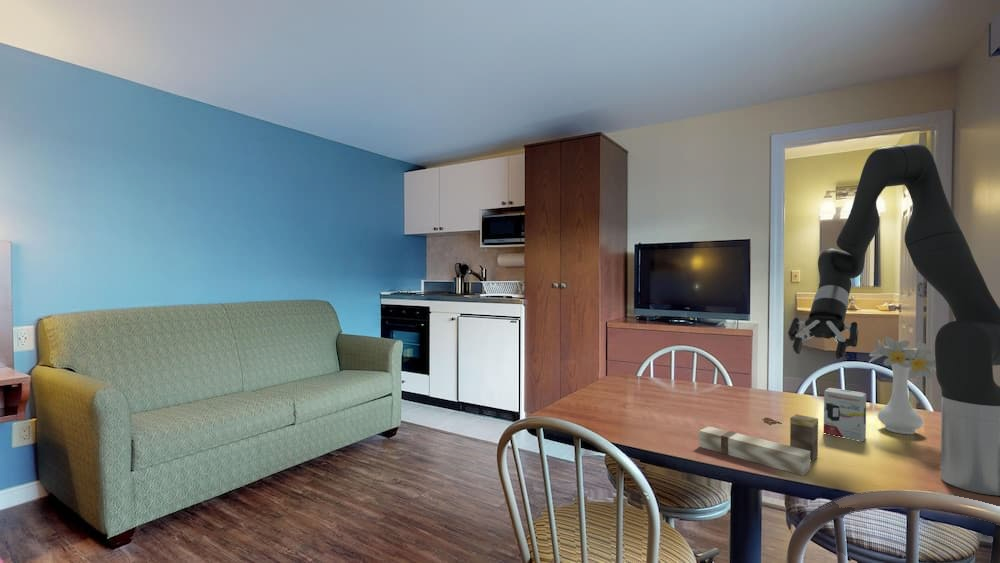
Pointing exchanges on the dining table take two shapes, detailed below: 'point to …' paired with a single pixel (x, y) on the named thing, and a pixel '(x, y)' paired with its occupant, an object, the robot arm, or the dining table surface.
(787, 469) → the board
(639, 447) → the dining table surface
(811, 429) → the brown rectangular block
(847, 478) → the dining table surface
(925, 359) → the flower vase
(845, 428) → the ink box
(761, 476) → the dining table surface
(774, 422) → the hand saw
